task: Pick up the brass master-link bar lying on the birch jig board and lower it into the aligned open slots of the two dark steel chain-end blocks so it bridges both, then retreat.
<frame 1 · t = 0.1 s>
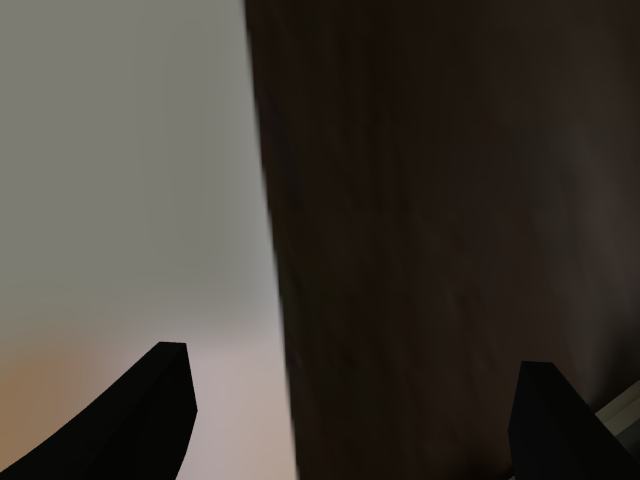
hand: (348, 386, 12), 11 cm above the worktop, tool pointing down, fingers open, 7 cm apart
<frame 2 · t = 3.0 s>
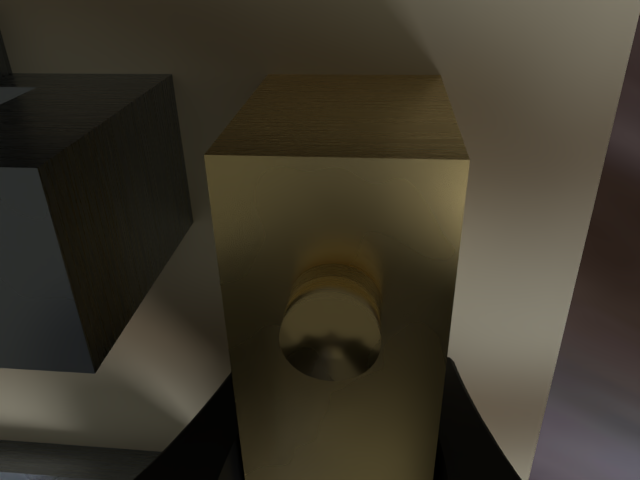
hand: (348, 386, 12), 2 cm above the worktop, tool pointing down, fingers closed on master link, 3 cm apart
jig board: (191, 331, 14), on the worktop
master link: (350, 362, 13), point 1 cm above the worktop, touching gripper, jig board
when the fingers open (4 cm above the worktop, at t = 5.4 s): master link stays where it is, resting on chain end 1, chain end 2.
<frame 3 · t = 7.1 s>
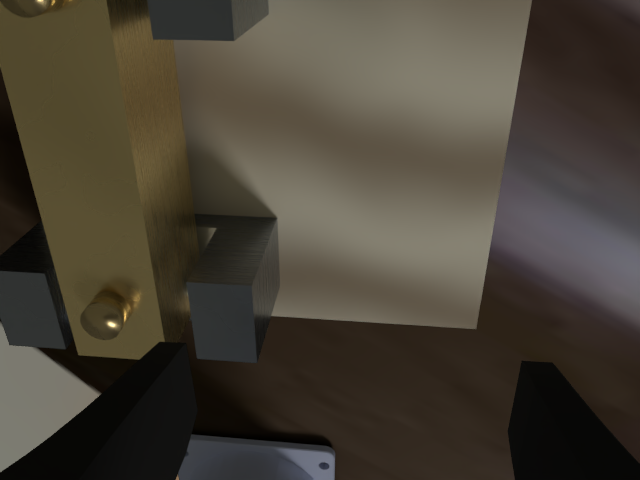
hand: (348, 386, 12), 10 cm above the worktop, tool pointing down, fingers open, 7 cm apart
jig board: (256, 117, 20), on the worktop
chain end 2: (170, 247, 22), resting on jig board
master link: (138, 123, 18), point 2 cm above the worktop, touching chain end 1, chain end 2
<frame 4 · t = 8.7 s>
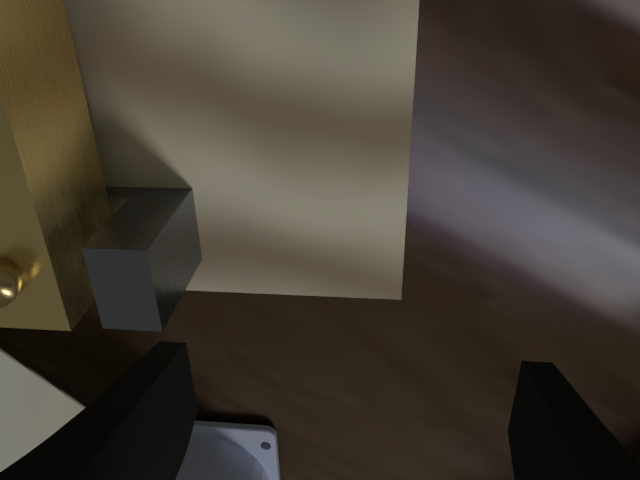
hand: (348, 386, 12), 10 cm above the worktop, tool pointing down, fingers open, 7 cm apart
jig board: (165, 86, 20), on the worktop
chain end 2: (90, 221, 22), resting on jig board
master link: (40, 91, 18), point 2 cm above the worktop, touching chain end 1, chain end 2
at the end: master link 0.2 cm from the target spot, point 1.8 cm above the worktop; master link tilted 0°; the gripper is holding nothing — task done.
